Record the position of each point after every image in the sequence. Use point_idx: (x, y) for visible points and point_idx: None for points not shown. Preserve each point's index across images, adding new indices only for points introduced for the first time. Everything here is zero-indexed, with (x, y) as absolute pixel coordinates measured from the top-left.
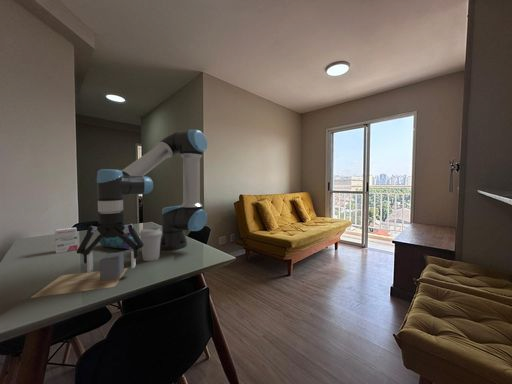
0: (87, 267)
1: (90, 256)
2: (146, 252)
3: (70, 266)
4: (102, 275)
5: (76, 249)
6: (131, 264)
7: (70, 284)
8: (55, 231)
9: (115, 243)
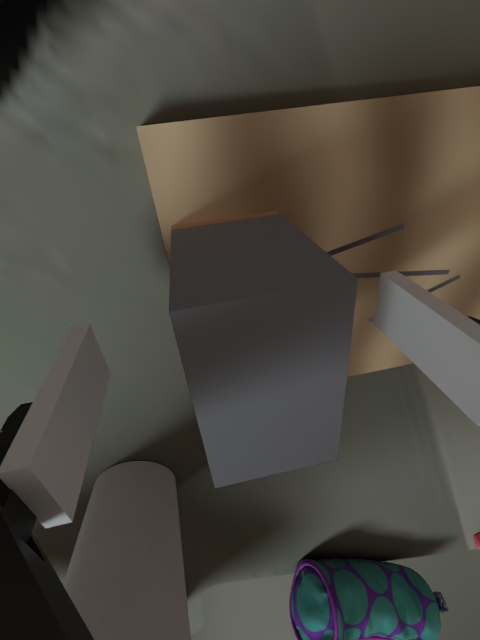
0: (424, 291)
1: (476, 366)
2: (133, 532)
3: (471, 435)
4: (277, 228)
5: (476, 535)
6: (79, 345)
7: (444, 228)
8: None
9: (364, 581)
